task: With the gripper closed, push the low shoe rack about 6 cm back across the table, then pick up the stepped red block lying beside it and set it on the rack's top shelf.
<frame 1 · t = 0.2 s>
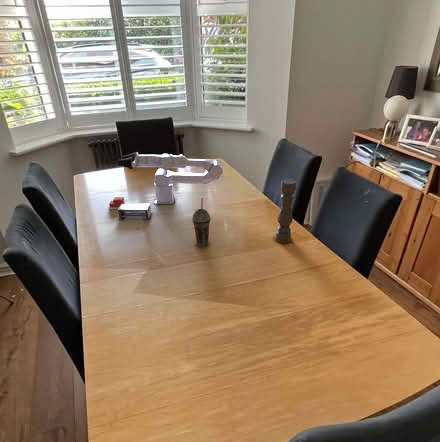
hand: (119, 160, 177), 21 cm above the table, tool horizontal, fingers open, 7 cm apart
shoe rack: (135, 216, 174), on the table
stepped red block: (117, 207, 183), on the table
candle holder: (283, 240, 153), on the table
beverage cup: (202, 245, 150), on the table
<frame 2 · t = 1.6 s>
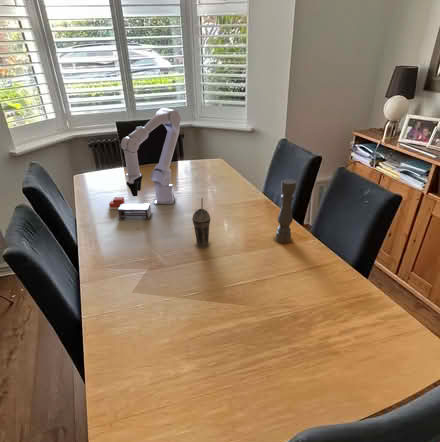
hand: (136, 193, 176), 8 cm above the table, tool pointing down, fingers open, 7 cm apart
nothing on the table moved.
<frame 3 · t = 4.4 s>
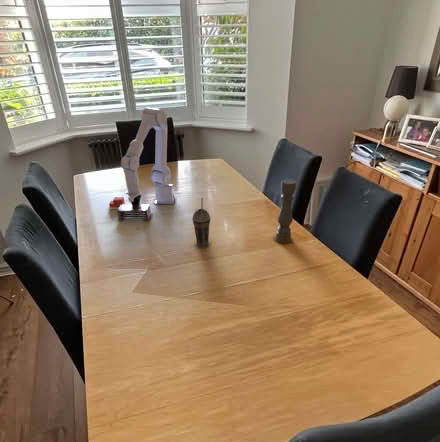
hand: (136, 210, 176), 1 cm above the table, tool pointing down, fingers closed
shoe rack: (135, 217, 173), on the table, touching gripper
everything else where it was.
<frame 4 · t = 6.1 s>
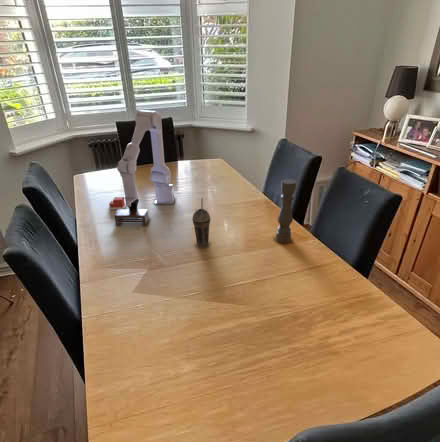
hand: (134, 215, 172), 1 cm above the table, tool pointing down, fingers closed
shoe rack: (132, 222, 168), on the table, touching gripper
everything else where it was.
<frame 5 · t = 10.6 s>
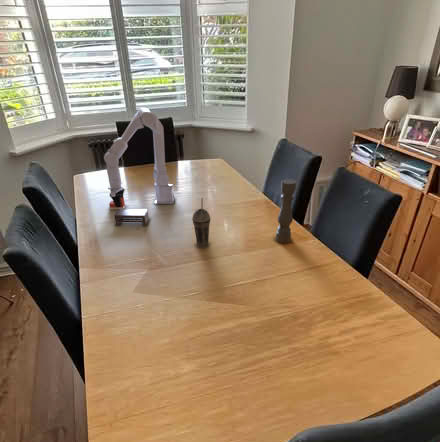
hand: (119, 205, 182), 1 cm above the table, tool pointing down, fingers closed on stepped red block, 4 cm apart
shoe rack: (132, 222, 168), on the table
stepped red block: (117, 207, 183), on the table, touching gripper
everything else where it was.
when the fingers open (6 cm above the table, at t = 14.4 s): stepped red block stays where it is, resting on shoe rack.
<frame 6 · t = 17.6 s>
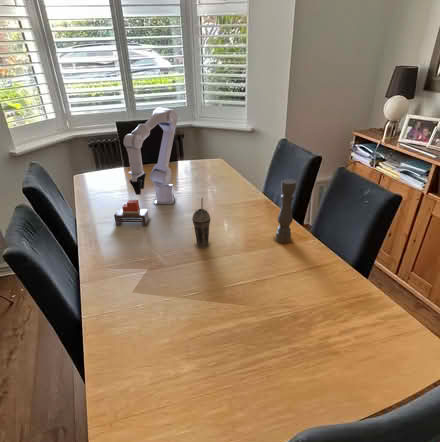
hand: (140, 191, 172), 10 cm above the table, tool pointing down, fingers open, 7 cm apart
shoe rack: (132, 222, 168), on the table, touching stepped red block
stepped red block: (131, 211, 166), point 5 cm above the table, touching shoe rack
everything else where it was.
at the end: shoe rack 0.1 cm from the target spot, on the table; stepped red block inside the target area on the shoe rack (0.5 cm from its centre), point 5.0 cm above the shoe rack's base; stepped red block tilted 0° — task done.
